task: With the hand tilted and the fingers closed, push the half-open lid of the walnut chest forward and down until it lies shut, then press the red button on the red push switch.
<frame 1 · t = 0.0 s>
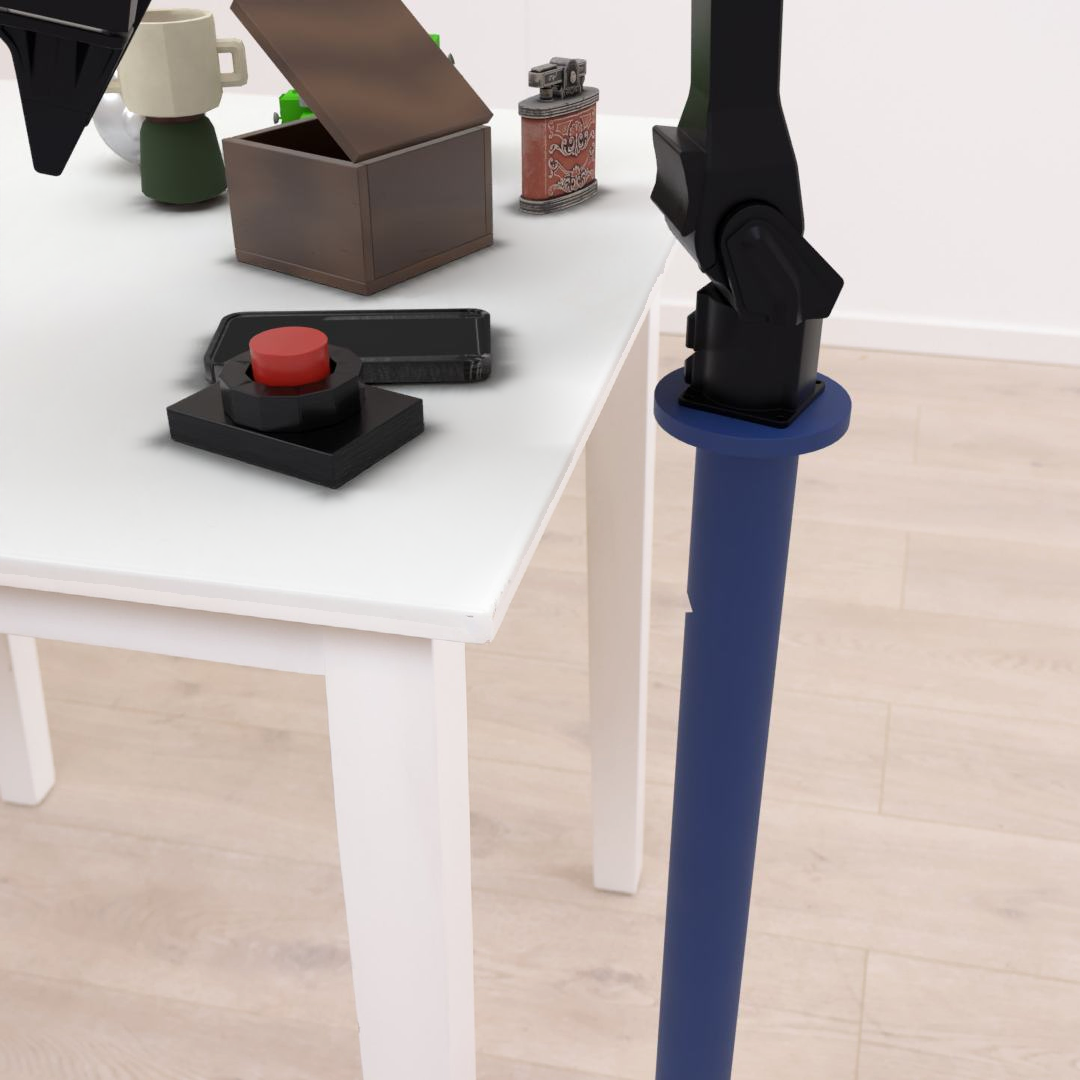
hand: (62, 147, 61), 13 cm above the table, tool pointing down, fingers open, 9 cm apart
button: (290, 357, 61), point 4 cm above the table, slide at 0.1 cm
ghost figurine: (157, 168, 106), on the table
lid: (367, 63, 80), point 12 cm above the table, hinge at 40.0°
toy tractor: (383, 169, 106), on the table
cream and green trophy: (187, 202, 98), on the table
lighter: (559, 202, 98), on the table
phone: (353, 357, 72), on the table
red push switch: (298, 434, 63), on the table
chest: (367, 252, 87), on the table
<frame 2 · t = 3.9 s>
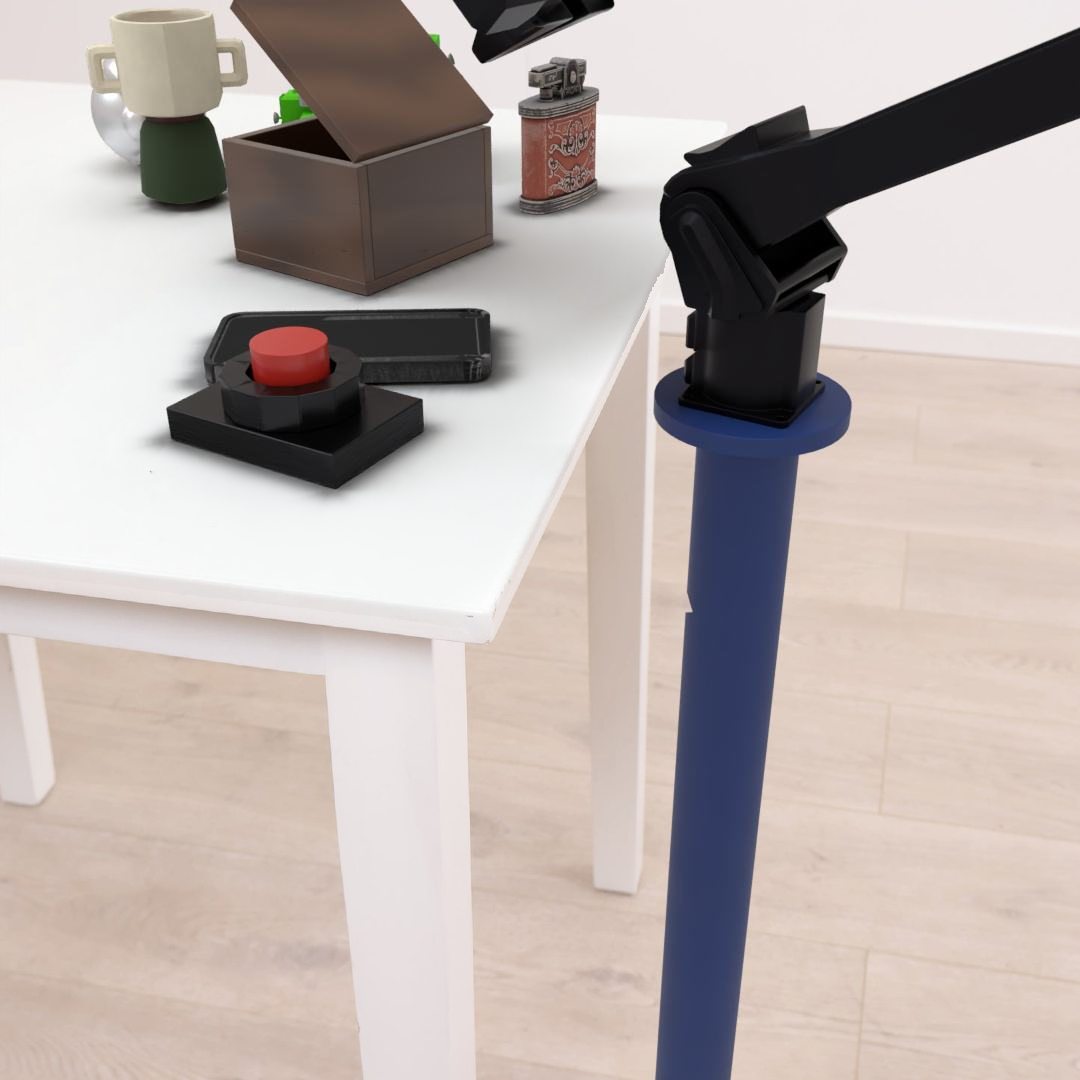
hand: (480, 56, 75), 14 cm above the table, tool tilted 45°, fingers closed
nothing on the table moved.
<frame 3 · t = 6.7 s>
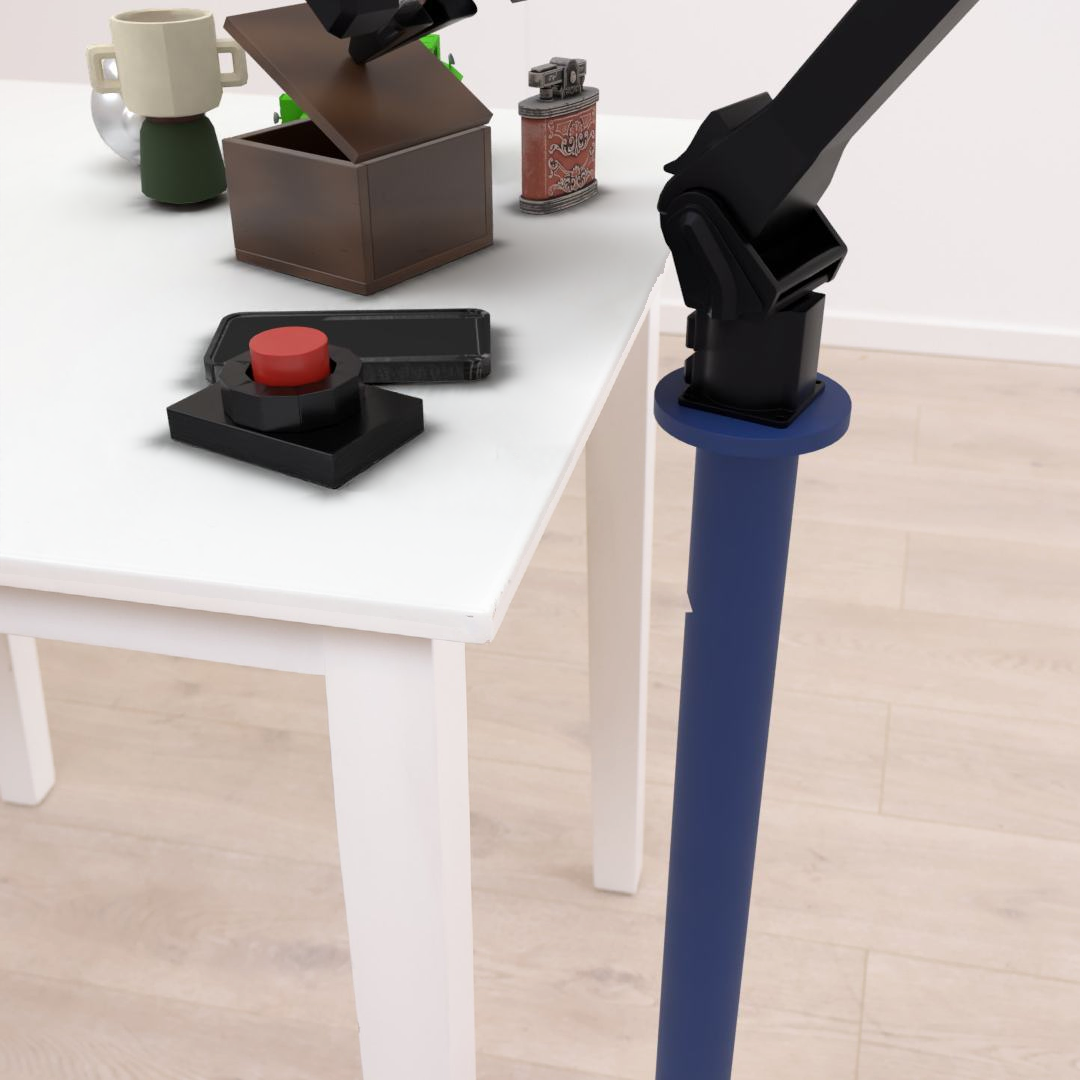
hand: (356, 57, 81), 12 cm above the table, tool tilted 45°, fingers closed, pressing on lid
lid: (363, 72, 81), point 12 cm above the table, hinge at 33.3°, touching gripper
everything else where it was.
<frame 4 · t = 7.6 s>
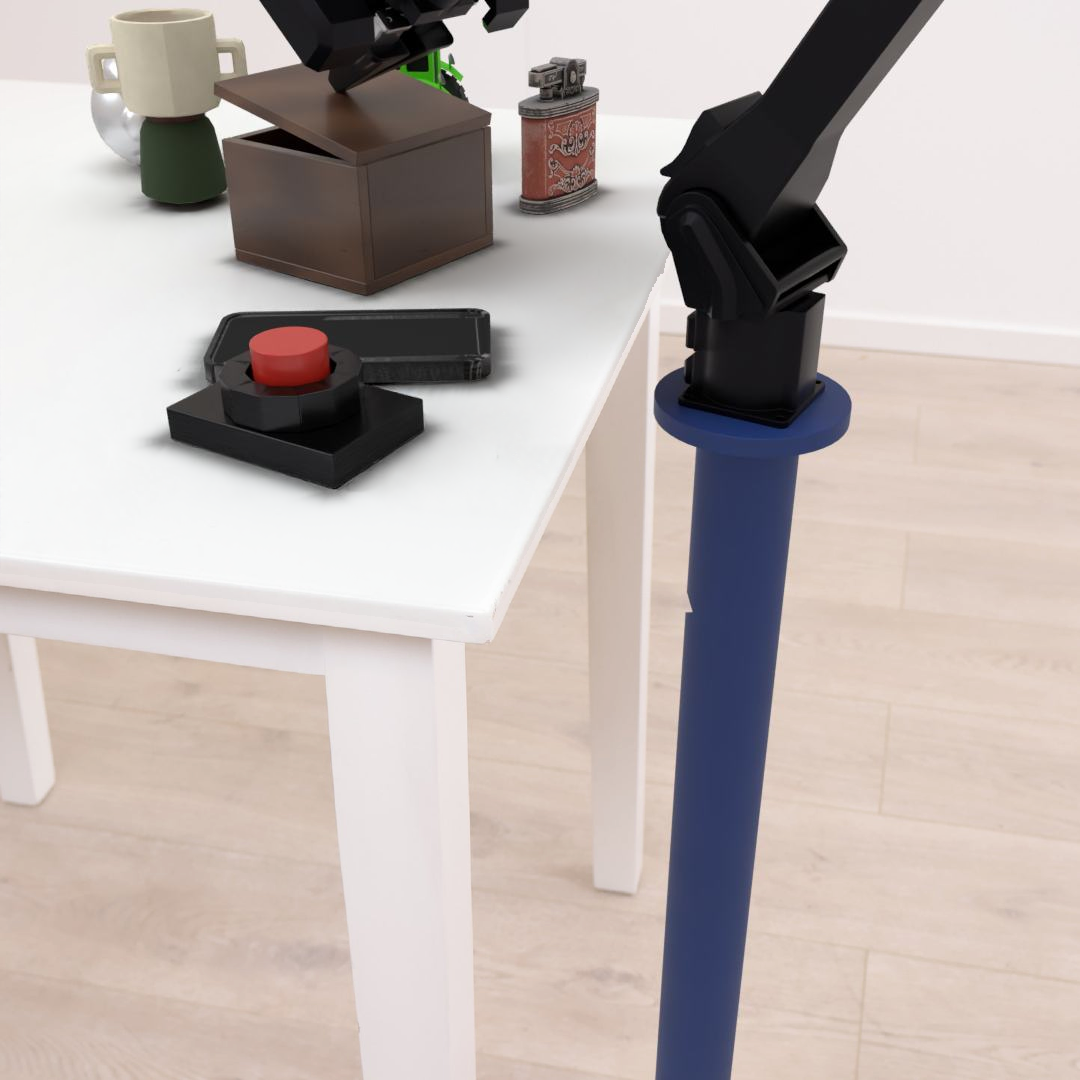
hand: (336, 85, 82), 11 cm above the table, tool tilted 45°, fingers closed, pressing on lid
lid: (355, 104, 82), point 10 cm above the table, hinge at 12.5°, touching gripper
everything else where it was.
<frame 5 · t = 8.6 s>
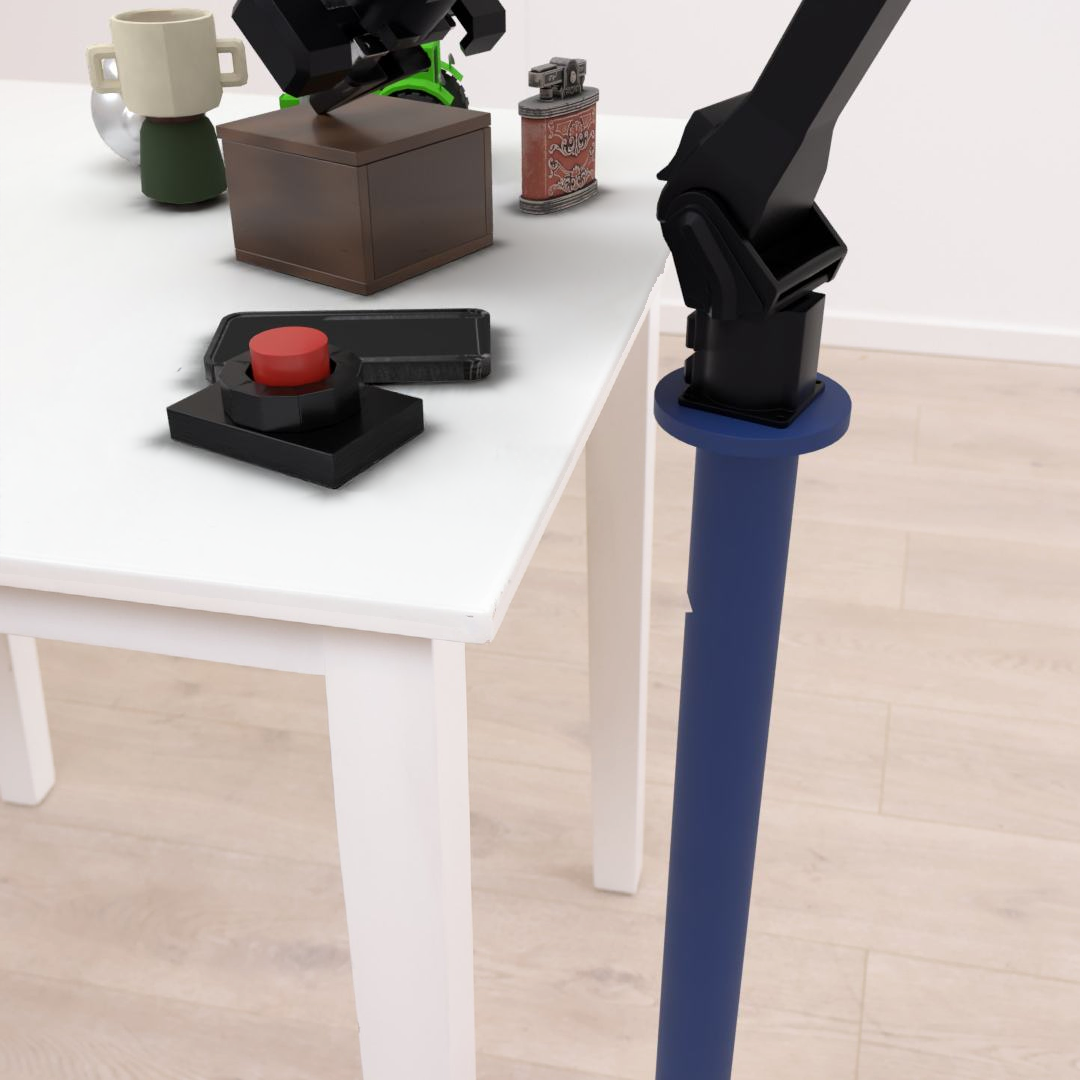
hand: (317, 107, 84), 9 cm above the table, tool tilted 45°, fingers closed, pressing on lid
lid: (355, 125, 83), point 8 cm above the table, hinge at -0.3°, touching chest, gripper
everything else where it was.
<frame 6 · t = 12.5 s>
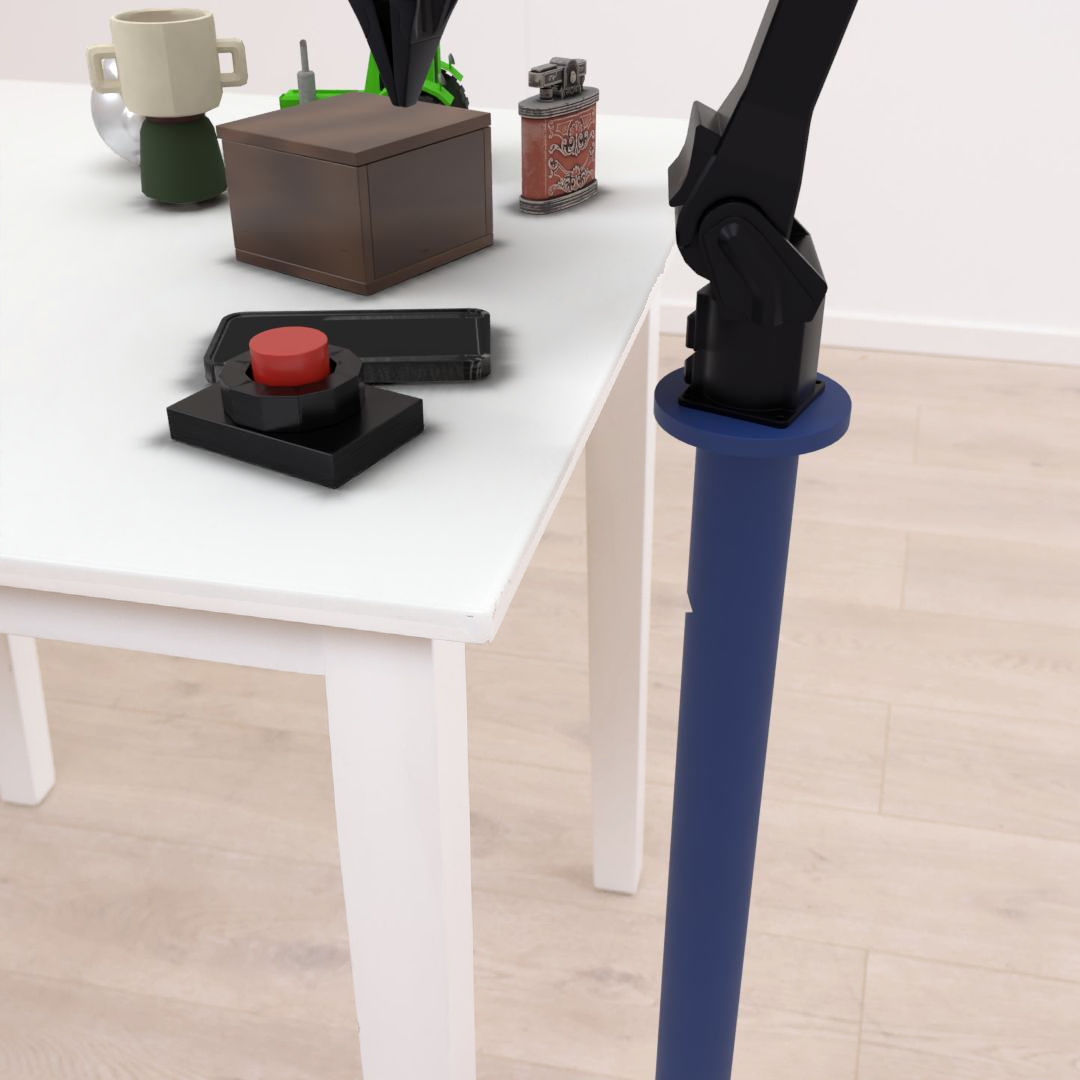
hand: (404, 105, 67), 13 cm above the table, tool pointing down, fingers closed
lid: (355, 125, 83), point 8 cm above the table, hinge at -0.3°, touching chest
everything else where it was.
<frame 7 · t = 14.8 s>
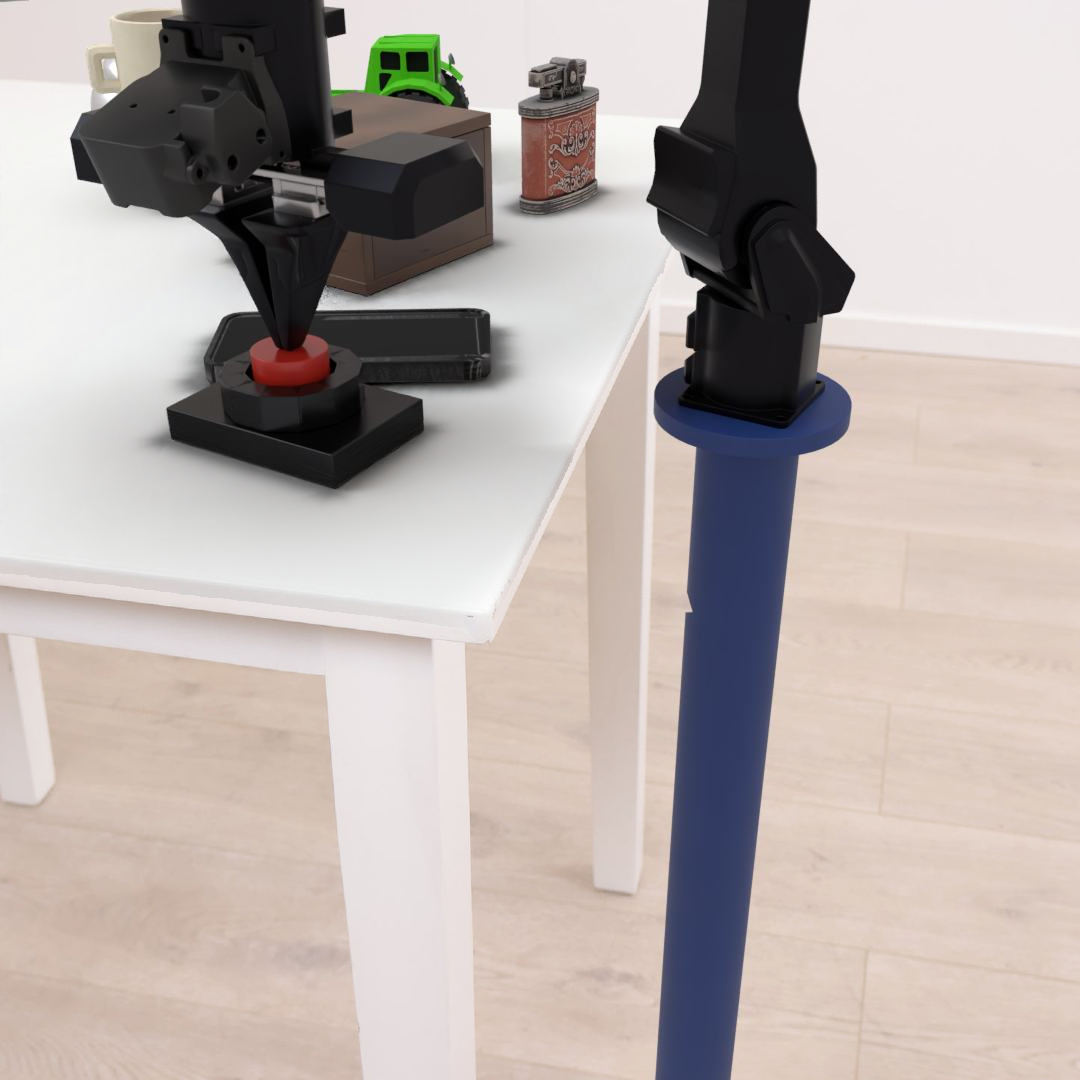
hand: (290, 347, 61), 5 cm above the table, tool pointing down, fingers closed, pressing on button
button: (291, 365, 61), point 4 cm above the table, slide at -0.2 cm, touching gripper
everything else where it was.
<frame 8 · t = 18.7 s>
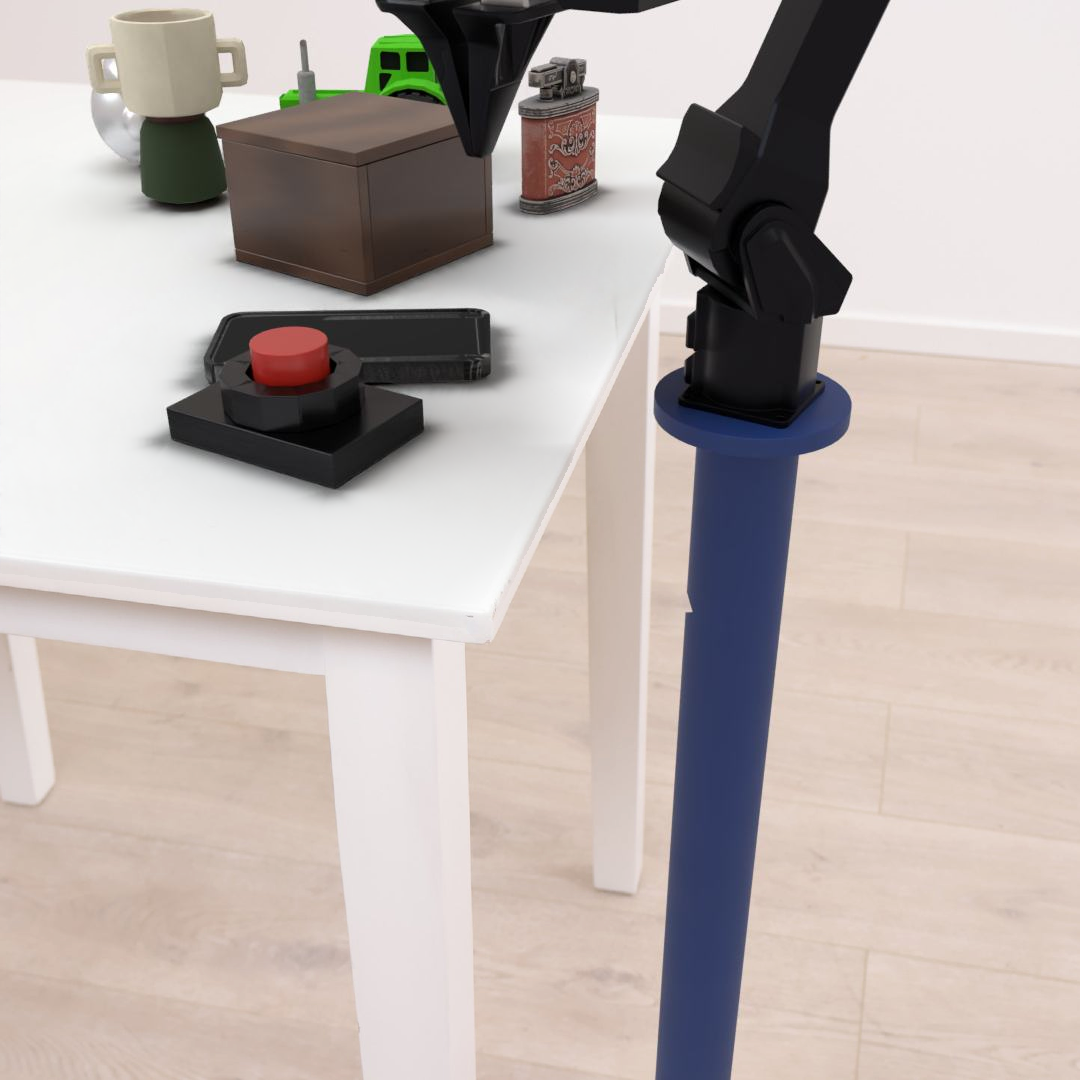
hand: (479, 156, 62), 12 cm above the table, tool pointing down, fingers closed
button: (290, 357, 61), point 4 cm above the table, slide at 0.1 cm
everything else where it was.
at the end: lid at +0° (first picture: +40°); button pushed in 1.1 cm at the most during the clip, back to where it started at the end; button slide at 0.1 cm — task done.
